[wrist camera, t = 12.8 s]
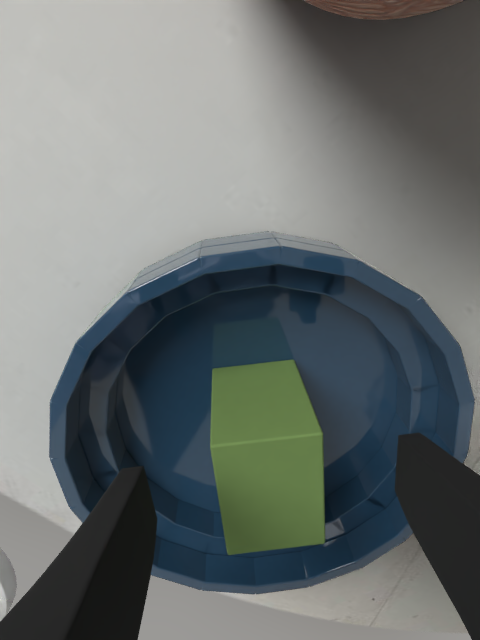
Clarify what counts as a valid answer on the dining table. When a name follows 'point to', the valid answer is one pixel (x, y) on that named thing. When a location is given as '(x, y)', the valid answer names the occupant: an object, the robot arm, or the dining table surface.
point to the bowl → (251, 348)
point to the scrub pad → (266, 458)
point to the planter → (381, 7)
